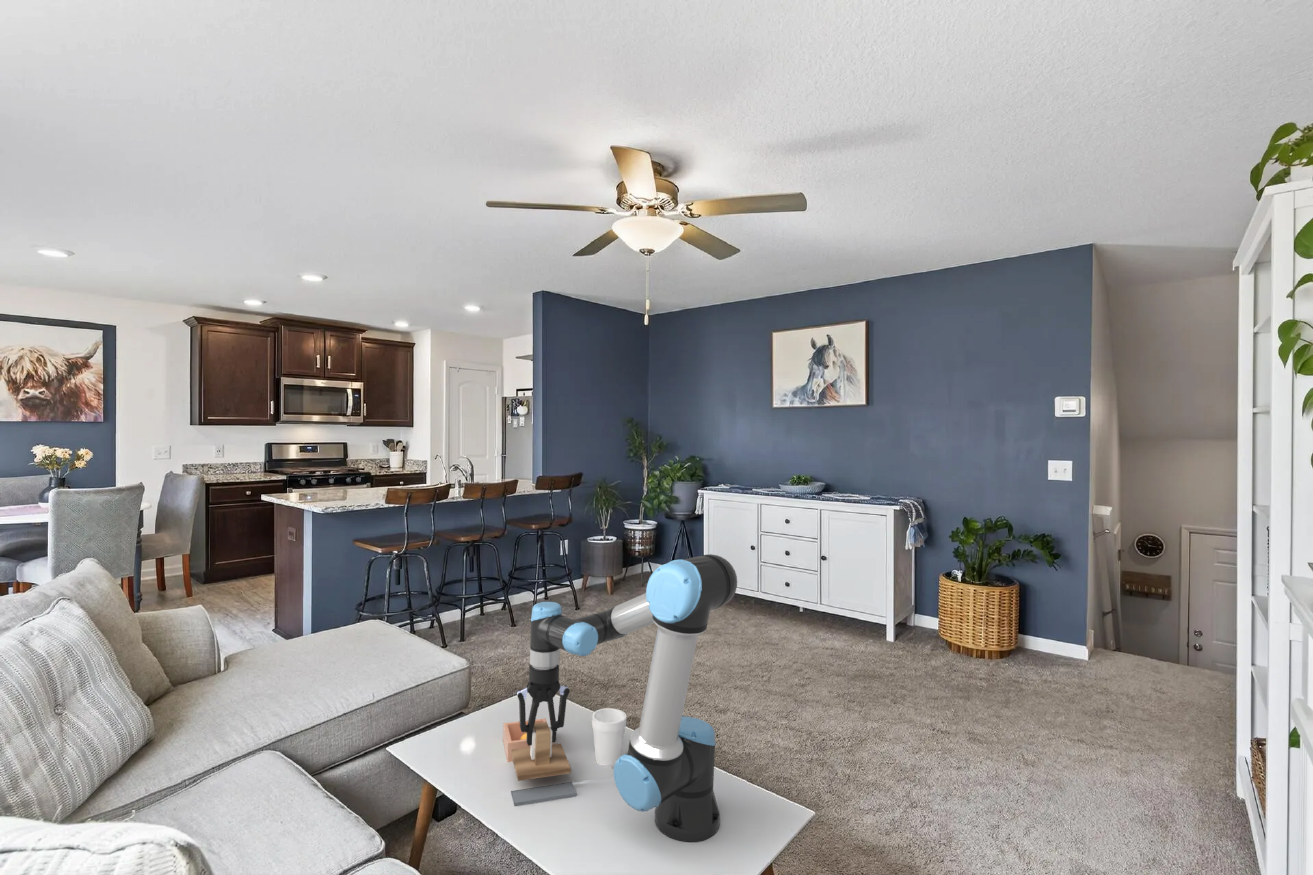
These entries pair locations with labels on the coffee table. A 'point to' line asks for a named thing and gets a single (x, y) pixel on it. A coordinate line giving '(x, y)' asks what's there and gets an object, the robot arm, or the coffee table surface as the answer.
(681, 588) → the robot arm
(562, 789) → the mat
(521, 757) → the lid
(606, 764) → the foam cup
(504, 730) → the pink open box
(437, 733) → the coffee table surface
